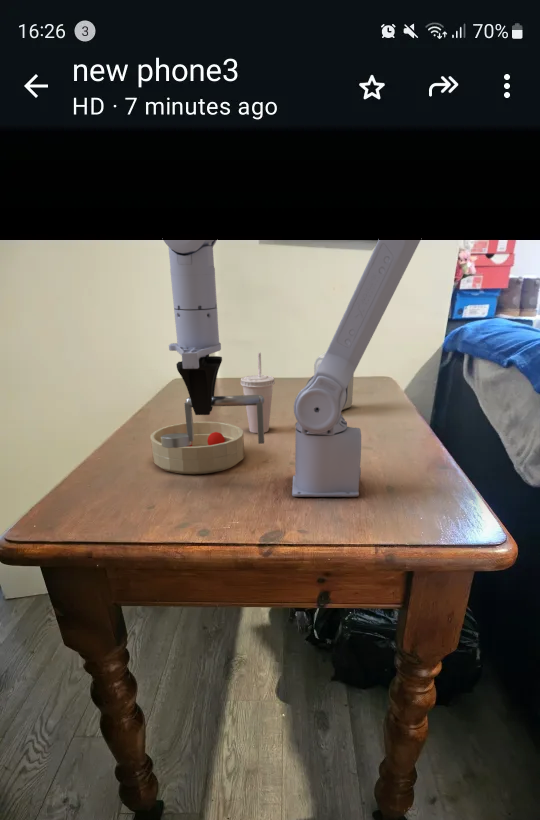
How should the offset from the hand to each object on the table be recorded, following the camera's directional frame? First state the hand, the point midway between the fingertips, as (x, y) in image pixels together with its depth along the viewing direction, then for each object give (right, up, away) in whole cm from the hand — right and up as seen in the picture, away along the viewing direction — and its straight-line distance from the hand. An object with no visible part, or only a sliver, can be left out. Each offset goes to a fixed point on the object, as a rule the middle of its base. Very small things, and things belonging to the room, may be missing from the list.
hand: (203, 412), depth 84 cm
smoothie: (+7, +6, +29) cm, 31 cm away
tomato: (0, 0, +16) cm, 16 cm away
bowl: (-2, -3, +14) cm, 15 cm away
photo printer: (+23, +14, +41) cm, 49 cm away
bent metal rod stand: (+1, -4, +2) cm, 5 cm away
